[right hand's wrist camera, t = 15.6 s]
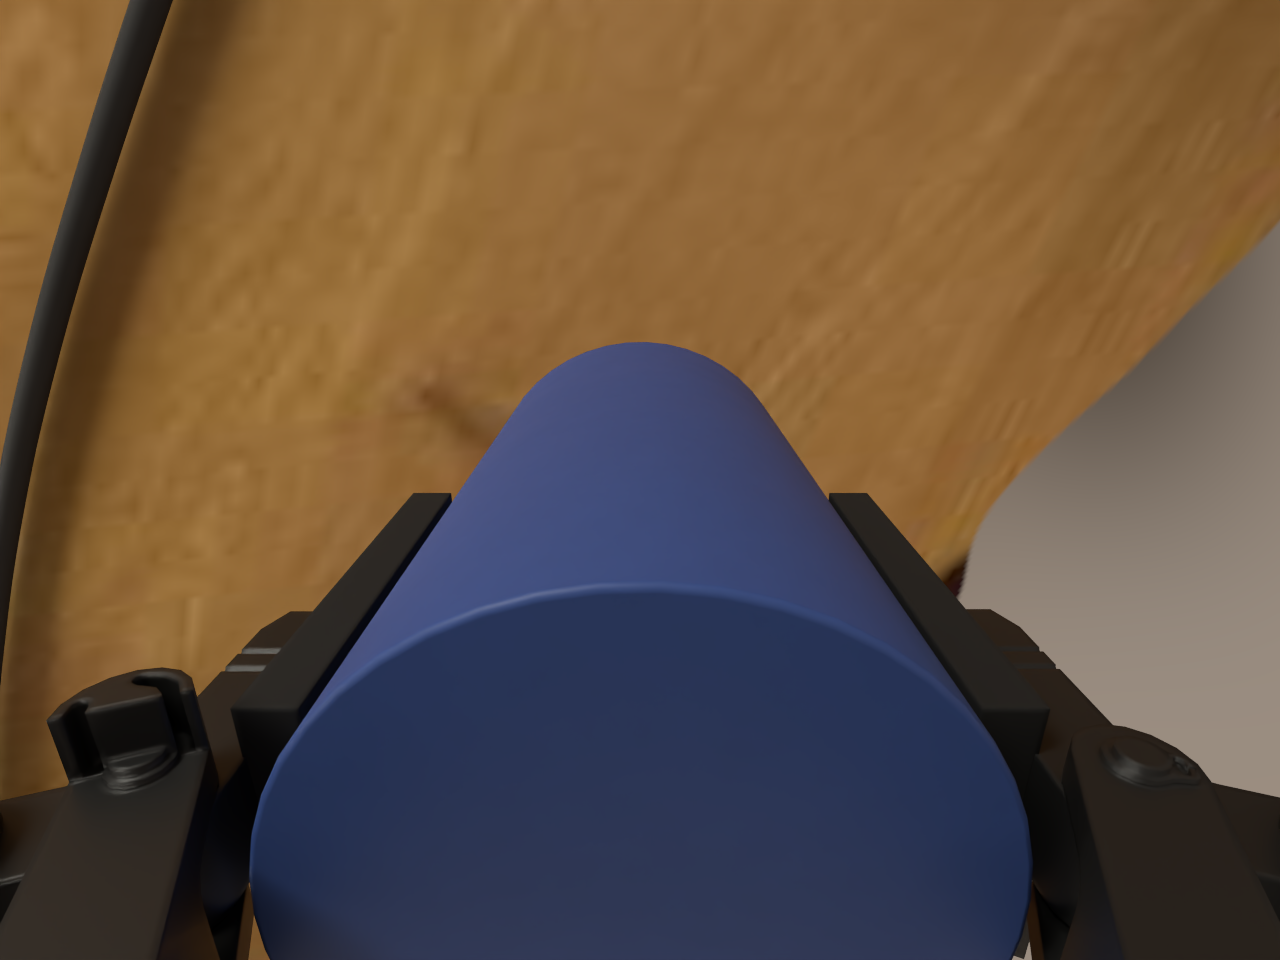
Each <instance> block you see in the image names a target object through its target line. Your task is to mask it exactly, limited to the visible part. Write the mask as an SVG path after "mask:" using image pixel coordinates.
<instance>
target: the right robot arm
mask: <svg viewBox="0 0 1280 960" xmlns="http://www.w3.org/2000/svg"><path fill="white" fill-rule="evenodd" d="M172 1H173V0H130V2H129V5H128V8H127V11H126V14H125V17H124V20H123V23H122V26H121V29H120V32H119V35H118V38H117V41H116V44H115V48H114V51H113V54H112V57H111V60H110V63H109V66H108V69H107V72H106V75H105V78H104V81H103V84H102V88H101V91H100V94H99V97H98V100H97V103H96V106H95V110H94V113H93V116H92V119H91V123H90V126H89V129H88V132H87V135H86V139H85V142H84V145H83V149H82V152H81V155H80V158H79V162H78V165H77V168H76V172H75V175H74V178H73V182H72V185H71V188H70V192H69V195H68V198H67V201H66V205H65V208H64V211H63V215H62V218H61V221H60V225H59V228H58V232H57V235H56V238H55V242H54V245H53V249H52V252H51V256H50V259H49V263H48V266H47V270H46V273H45V277H44V281H43V284H42V288H41V292H40V295H39V299H38V303H37V307H36V310H35V314H34V318H33V322H32V326H31V330H30V334H29V338H28V342H27V346H26V350H25V354H24V359H23V363H22V367H21V371H20V375H19V379H18V384H17V388H16V392H15V397H14V401H13V405H12V410H11V414H10V419H9V424H8V428H7V433H6V438H5V443H4V448H3V453H2V459H1V464H0V683H1V673H2V663H3V654H4V644H5V635H6V627H7V618H8V610H9V602H10V594H11V586H12V579H13V572H14V566H15V559H16V553H17V547H18V541H19V535H20V530H21V524H22V518H23V513H24V508H25V502H26V497H27V492H28V486H29V481H30V476H31V471H32V467H33V462H34V457H35V452H36V448H37V443H38V439H39V434H40V430H41V426H42V422H43V417H44V413H45V409H46V405H47V401H48V397H49V393H50V389H51V385H52V381H53V377H54V373H55V370H56V366H57V362H58V358H59V354H60V351H61V347H62V343H63V339H64V336H65V332H66V328H67V325H68V321H69V317H70V314H71V310H72V307H73V303H74V300H75V296H76V293H77V290H78V286H79V283H80V280H81V276H82V273H83V270H84V266H85V263H86V260H87V257H88V253H89V250H90V247H91V244H92V241H93V237H94V234H95V231H96V228H97V225H98V222H99V219H100V215H101V212H102V209H103V206H104V203H105V200H106V197H107V194H108V191H109V187H110V184H111V181H112V178H113V175H114V172H115V169H116V166H117V163H118V159H119V156H120V153H121V150H122V147H123V144H124V141H125V138H126V135H127V132H128V129H129V126H130V123H131V120H132V117H133V114H134V111H135V108H136V105H137V102H138V99H139V96H140V93H141V90H142V87H143V85H144V82H145V79H146V76H147V73H148V70H149V67H150V64H151V61H152V58H153V56H154V53H155V50H156V47H157V44H158V41H159V38H160V35H161V33H162V30H163V27H164V24H165V21H166V18H167V15H168V12H169V10H170V7H171V4H172ZM829 502H830V503H831V505H832V506H833V508H834V509H835V511H836V512H837V513H838V515H839V516H840V518H841V519H842V521H843V522H844V524H845V525H846V527H847V528H848V529H849V531H850V532H851V534H852V535H853V537H854V538H855V540H856V541H857V542H858V544H859V545H860V547H861V548H862V550H863V551H864V553H865V554H866V556H867V557H868V558H869V560H870V561H871V563H872V564H873V566H874V567H875V569H876V570H877V571H878V573H879V574H880V576H881V577H882V579H883V580H884V582H885V583H886V585H887V586H888V587H889V589H890V590H891V592H892V593H893V595H894V596H895V598H896V599H897V600H898V602H899V603H900V605H901V606H902V608H903V609H904V611H905V612H906V613H907V615H908V616H909V618H910V619H911V621H912V622H913V624H914V625H915V627H916V628H917V629H918V631H919V632H920V634H921V635H922V637H923V638H924V640H925V641H926V642H927V644H928V645H929V647H930V648H931V650H932V651H933V653H934V654H935V656H936V657H937V658H938V660H939V661H940V663H941V664H942V666H943V667H944V669H945V670H946V671H947V673H948V674H949V676H950V677H951V679H952V680H953V682H954V683H955V685H956V686H957V687H958V689H959V690H960V692H961V693H962V695H963V696H964V698H965V699H966V700H967V702H968V703H969V705H970V706H971V708H972V709H973V711H974V712H975V713H976V715H977V716H978V718H979V719H980V721H981V722H982V724H983V725H984V727H985V728H986V729H987V731H988V732H989V734H990V735H991V737H992V738H993V740H994V741H995V743H996V745H997V746H998V748H999V750H1000V752H1001V754H1002V756H1003V758H1004V760H1005V761H1006V763H1007V765H1008V767H1009V769H1010V771H1011V773H1012V775H1013V776H1014V778H1015V781H1016V784H1017V787H1018V790H1019V793H1020V796H1021V799H1022V802H1023V806H1024V809H1025V812H1026V815H1027V818H1028V826H1029V834H1030V842H1031V850H1032V858H1033V872H1032V889H1031V901H1030V905H1029V909H1028V914H1027V918H1026V922H1025V926H1024V930H1023V934H1022V937H1021V939H1020V942H1019V944H1018V946H1017V949H1016V951H1015V953H1014V956H1017V957H1020V958H1022V959H1024V957H1025V954H1026V950H1027V946H1028V943H1029V942H1030V947H1031V955H1032V960H1280V798H1279V797H1274V796H1270V795H1265V794H1261V793H1256V792H1251V791H1247V790H1242V789H1238V788H1233V787H1228V786H1224V785H1219V784H1215V783H1212V782H1211V781H1210V780H1209V778H1208V777H1207V776H1206V774H1205V773H1204V772H1203V770H1202V769H1201V768H1200V767H1199V765H1198V764H1197V763H1195V762H1194V761H1193V760H1192V759H1190V758H1189V757H1188V756H1186V755H1185V754H1184V753H1182V752H1181V751H1180V750H1178V749H1177V748H1175V747H1173V746H1172V745H1170V744H1168V743H1166V742H1164V741H1162V740H1160V739H1158V738H1156V737H1154V736H1152V735H1149V734H1146V733H1143V732H1140V731H1137V730H1133V729H1130V728H1127V727H1123V726H1114V725H1112V724H1111V723H1110V721H1109V720H1108V719H1107V718H1106V717H1105V716H1104V715H1103V714H1102V713H1101V712H1100V711H1099V710H1098V709H1097V708H1096V707H1095V706H1094V705H1093V704H1092V703H1091V701H1090V700H1089V699H1088V698H1087V697H1086V696H1085V695H1084V694H1083V693H1082V692H1081V691H1080V690H1079V689H1078V688H1077V687H1076V686H1075V685H1074V684H1073V683H1072V681H1071V680H1070V679H1069V678H1068V677H1067V676H1066V675H1065V674H1064V673H1063V672H1062V671H1061V670H1060V669H1056V667H1055V666H1056V665H1055V664H1054V662H1053V661H1052V660H1051V659H1050V658H1049V657H1048V656H1047V655H1046V654H1045V653H1044V652H1040V651H1039V647H1038V646H1037V645H1036V644H1035V642H1033V640H1032V639H1031V638H1030V637H1029V636H1028V635H1027V634H1026V633H1025V632H1024V631H1023V630H1022V629H1021V628H1020V627H1019V626H1017V625H1016V624H1014V623H1012V622H1011V621H1009V620H1007V619H1006V618H1004V617H1002V616H1001V615H999V614H997V613H996V612H994V611H992V610H991V609H965V608H964V607H963V605H962V604H961V603H960V602H959V601H958V600H957V598H956V597H955V596H954V595H953V594H952V592H951V591H950V590H949V589H948V588H947V587H946V585H945V584H944V583H943V582H942V581H941V580H940V578H939V577H938V576H937V575H936V574H935V573H934V571H933V570H932V569H931V568H930V567H929V565H928V564H927V563H926V562H925V561H924V560H923V558H922V557H921V556H920V555H919V554H918V553H917V551H916V550H915V549H914V548H913V547H912V546H911V544H910V543H909V542H908V541H907V540H906V538H905V537H904V536H903V535H902V534H901V533H900V531H899V530H898V529H897V528H896V527H895V526H894V524H893V523H892V522H891V521H890V520H889V519H888V517H887V516H886V515H885V514H884V513H883V511H882V510H881V509H880V508H879V507H878V506H877V504H876V503H875V502H874V501H873V500H872V499H871V497H870V496H869V495H868V494H867V493H829ZM451 503H452V498H451V493H413V494H412V496H411V497H410V498H409V499H408V500H407V501H406V503H405V504H404V505H403V506H402V507H401V508H400V510H399V511H398V512H397V513H396V514H395V516H394V517H393V518H392V519H391V520H390V521H389V523H388V524H387V525H386V526H385V527H384V528H383V530H382V531H381V532H380V533H379V534H378V535H377V537H376V538H375V539H374V540H373V541H372V543H371V544H370V545H369V546H368V547H367V548H366V550H365V551H364V552H363V553H362V554H361V555H360V557H359V558H358V559H357V560H356V561H355V563H354V564H353V565H352V566H351V567H350V568H349V570H348V571H347V572H346V573H345V574H344V575H343V577H342V578H341V579H340V580H339V581H338V582H337V584H336V585H335V586H334V587H333V588H332V590H331V591H330V592H329V593H328V594H327V595H326V597H325V598H324V599H323V600H322V601H321V602H320V604H319V605H318V606H317V607H316V608H315V609H314V611H313V612H289V613H287V614H286V615H284V616H282V617H281V618H279V619H277V620H276V621H274V622H272V623H271V624H269V625H267V626H266V627H264V628H262V629H261V630H260V631H259V632H258V633H257V634H256V635H255V636H254V637H253V638H252V640H251V641H250V642H249V643H248V644H247V645H246V646H245V647H244V648H243V649H242V653H241V654H237V655H236V657H235V658H234V659H233V660H232V661H231V662H230V663H229V664H228V665H227V666H226V670H225V672H220V673H219V675H218V676H217V677H216V678H215V679H214V680H213V681H212V682H211V683H210V684H209V685H208V686H207V687H206V688H205V689H204V690H203V692H202V693H201V694H200V695H199V696H198V697H197V695H196V692H195V688H194V684H193V681H192V678H191V677H190V676H188V675H187V674H186V673H184V672H183V671H181V670H176V669H169V668H153V669H144V670H136V671H133V672H129V673H126V674H122V675H118V676H115V677H111V678H109V679H106V680H104V681H102V682H100V683H97V684H95V685H93V686H91V687H88V688H86V689H84V690H82V691H81V692H79V693H78V694H76V695H75V696H73V697H72V698H70V699H69V700H67V701H65V702H64V703H62V704H61V705H60V706H59V707H58V708H57V709H56V710H55V711H54V713H53V714H52V715H51V716H50V717H49V718H48V719H47V720H46V721H47V724H48V727H49V729H50V732H51V735H52V737H53V740H54V743H55V745H56V748H57V751H58V753H59V756H60V759H61V761H62V764H63V767H64V769H65V772H66V775H67V777H68V780H69V784H68V786H66V787H61V788H57V789H52V790H48V791H43V792H39V793H34V794H29V795H25V796H20V797H16V798H11V799H6V800H2V801H0V960H248V957H249V949H250V941H251V933H252V925H253V917H254V911H253V903H252V896H251V891H250V888H249V882H250V880H249V869H250V851H251V836H252V830H253V826H254V822H255V818H256V814H257V810H258V806H259V802H260V798H261V794H262V792H263V790H264V787H265V785H266V783H267V781H268V778H269V776H270V774H271V772H272V770H273V767H274V765H275V763H276V761H277V758H278V756H279V755H280V753H281V752H282V750H283V749H284V747H285V746H286V744H287V743H288V741H289V740H290V739H291V737H292V736H293V734H294V733H295V731H296V730H297V728H298V727H299V725H300V724H301V722H302V721H303V719H304V718H305V717H306V715H307V714H308V712H309V711H310V709H311V708H312V706H313V705H314V703H315V702H316V700H317V699H318V698H319V696H320V695H321V693H322V692H323V690H324V689H325V687H326V686H327V684H328V683H329V681H330V680H331V679H332V677H333V676H334V674H335V673H336V671H337V670H338V668H339V667H340V665H341V664H342V662H343V661H344V660H345V658H346V657H347V655H348V654H349V652H350V651H351V649H352V648H353V646H354V645H355V643H356V642H357V641H358V639H359V638H360V636H361V635H362V633H363V632H364V630H365V629H366V627H367V626H368V624H369V623H370V621H371V620H372V619H373V617H374V616H375V614H376V613H377V611H378V610H379V608H380V607H381V605H382V604H383V602H384V601H385V600H386V598H387V597H388V595H389V594H390V592H391V591H392V589H393V588H394V586H395V585H396V583H397V582H398V581H399V579H400V578H401V576H402V575H403V573H404V572H405V570H406V569H407V567H408V566H409V564H410V563H411V562H412V560H413V559H414V557H415V556H416V554H417V553H418V551H419V550H420V548H421V547H422V545H423V544H424V543H425V541H426V540H427V538H428V537H429V535H430V534H431V532H432V531H433V529H434V528H435V526H436V525H437V524H438V522H439V521H440V519H441V518H442V516H443V515H444V513H445V512H446V510H447V509H448V507H449V506H450V505H451Z"/></svg>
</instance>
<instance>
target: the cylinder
mask: <svg viewBox="0 0 1280 960" xmlns="http://www.w3.org/2000/svg"><path fill="white" fill-rule="evenodd" d="M1032 872H1033V858H1032V850H1031V842H1030V834H1029V826H1028V818H1027V815H1026V812H1025V809H1024V806H1023V802H1022V799H1021V796H1020V793H1019V790H1018V787H1017V784H1016V781H1015V778H1014V776H1013V775H1012V773H1011V771H1010V769H1009V767H1008V765H1007V763H1006V761H1005V760H1004V758H1003V756H1002V754H1001V752H1000V750H999V748H998V746H997V745H996V743H995V741H994V740H993V738H992V737H991V735H990V734H989V732H988V731H987V729H986V728H985V727H984V725H983V724H982V722H981V721H980V719H979V718H978V716H977V715H976V713H975V712H974V711H973V709H972V708H971V706H970V705H969V703H968V702H967V700H966V699H965V698H964V696H963V695H962V693H961V692H960V690H959V689H958V687H957V686H956V685H955V683H954V682H953V680H952V679H951V677H950V676H949V674H948V673H947V671H946V670H945V669H944V667H943V666H942V664H941V663H940V661H939V660H938V658H937V657H936V656H935V654H934V653H933V651H932V650H931V648H930V647H929V645H928V644H927V642H926V641H925V640H924V638H923V637H922V635H921V634H920V632H919V631H918V629H917V628H916V627H915V625H914V624H913V622H912V621H911V619H910V618H909V616H908V615H907V613H906V612H905V611H904V609H903V608H902V606H901V605H900V603H899V602H898V600H897V599H896V598H895V596H894V595H893V593H892V592H891V590H890V589H889V587H888V586H887V585H886V583H885V582H884V580H883V579H882V577H881V576H880V574H879V573H878V571H877V570H876V569H875V567H874V566H873V564H872V563H871V561H870V560H869V558H868V557H867V556H866V554H865V553H864V551H863V550H862V548H861V547H860V545H859V544H858V542H857V541H856V540H855V538H854V537H853V535H852V534H851V532H850V531H849V529H848V528H847V527H846V525H845V524H844V522H843V521H842V519H841V518H840V516H839V515H838V513H837V512H836V511H835V509H834V508H833V506H832V505H831V503H830V502H829V500H828V499H827V498H826V496H825V495H824V493H823V492H822V490H821V489H820V487H819V486H818V484H817V483H816V482H815V480H814V479H813V477H812V476H811V474H810V473H809V471H808V470H807V469H806V467H805V466H804V464H803V463H802V461H801V460H800V458H799V457H798V456H797V454H796V453H795V451H794V450H793V448H792V447H791V445H790V444H789V442H788V441H787V440H786V438H785V437H784V435H783V434H782V432H781V431H780V429H779V428H778V427H777V425H776V424H775V422H774V421H773V419H772V418H771V416H770V415H769V413H768V412H767V411H766V409H765V408H764V406H763V405H762V404H761V402H760V401H759V400H758V398H757V397H756V396H755V394H754V393H753V392H752V391H751V390H750V389H749V388H748V387H747V386H746V385H745V384H744V383H743V382H742V381H741V380H740V379H739V378H738V377H737V376H735V375H734V374H733V373H731V372H730V371H729V370H727V369H726V368H725V367H723V366H722V365H720V364H718V363H716V362H714V361H713V360H711V359H709V358H707V357H705V356H703V355H700V354H698V353H695V352H693V351H690V350H687V349H684V348H680V347H676V346H672V345H667V344H659V343H649V342H636V343H622V344H615V345H609V346H604V347H601V348H598V349H594V350H591V351H588V352H585V353H583V354H581V355H578V356H576V357H574V358H572V359H570V360H568V361H566V362H565V363H563V364H561V365H560V366H558V367H557V368H555V369H553V370H552V371H551V372H549V373H548V374H547V375H546V376H545V377H543V378H542V379H541V380H540V381H539V382H537V383H536V384H535V386H534V387H533V388H532V389H531V390H530V391H529V392H528V393H527V394H526V395H525V397H524V398H523V399H522V401H521V402H520V404H519V405H518V407H517V408H516V409H515V411H514V412H513V414H512V415H511V417H510V418H509V420H508V421H507V423H506V424H505V426H504V427H503V428H502V430H501V431H500V433H499V434H498V436H497V437H496V439H495V440H494V442H493V443H492V445H491V446H490V448H489V449H488V450H487V452H486V453H485V455H484V456H483V458H482V459H481V461H480V462H479V464H478V465H477V467H476V468H475V469H474V471H473V472H472V474H471V475H470V477H469V478H468V480H467V481H466V483H465V484H464V486H463V487H462V488H461V490H460V491H459V493H458V494H457V496H456V497H455V499H454V500H453V502H452V503H451V505H450V506H449V507H448V509H447V510H446V512H445V513H444V515H443V516H442V518H441V519H440V521H439V522H438V524H437V525H436V526H435V528H434V529H433V531H432V532H431V534H430V535H429V537H428V538H427V540H426V541H425V543H424V544H423V545H422V547H421V548H420V550H419V551H418V553H417V554H416V556H415V557H414V559H413V560H412V562H411V563H410V564H409V566H408V567H407V569H406V570H405V572H404V573H403V575H402V576H401V578H400V579H399V581H398V582H397V583H396V585H395V586H394V588H393V589H392V591H391V592H390V594H389V595H388V597H387V598H386V600H385V601H384V602H383V604H382V605H381V607H380V608H379V610H378V611H377V613H376V614H375V616H374V617H373V619H372V620H371V621H370V623H369V624H368V626H367V627H366V629H365V630H364V632H363V633H362V635H361V636H360V638H359V639H358V641H357V642H356V643H355V645H354V646H353V648H352V649H351V651H350V652H349V654H348V655H347V657H346V658H345V660H344V661H343V662H342V664H341V665H340V667H339V668H338V670H337V671H336V673H335V674H334V676H333V677H332V679H331V680H330V681H329V683H328V684H327V686H326V687H325V689H324V690H323V692H322V693H321V695H320V696H319V698H318V699H317V700H316V702H315V703H314V705H313V706H312V708H311V709H310V711H309V712H308V714H307V715H306V717H305V718H304V719H303V721H302V722H301V724H300V725H299V727H298V728H297V730H296V731H295V733H294V734H293V736H292V737H291V739H290V740H289V741H288V743H287V744H286V746H285V747H284V749H283V750H282V752H281V753H280V755H279V756H278V758H277V761H276V763H275V765H274V767H273V770H272V772H271V774H270V776H269V778H268V781H267V783H266V785H265V787H264V790H263V792H262V794H261V798H260V802H259V806H258V810H257V814H256V818H255V822H254V826H253V830H252V836H251V851H250V869H249V880H250V888H251V896H252V903H253V911H254V916H255V919H256V922H257V926H258V929H259V932H260V935H261V938H262V941H263V945H264V948H265V950H266V952H267V954H268V956H269V958H270V960H1012V958H1013V956H1014V953H1015V951H1016V949H1017V946H1018V944H1019V942H1020V939H1021V937H1022V934H1023V930H1024V926H1025V922H1026V918H1027V914H1028V909H1029V905H1030V901H1031V889H1032Z"/></svg>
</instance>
